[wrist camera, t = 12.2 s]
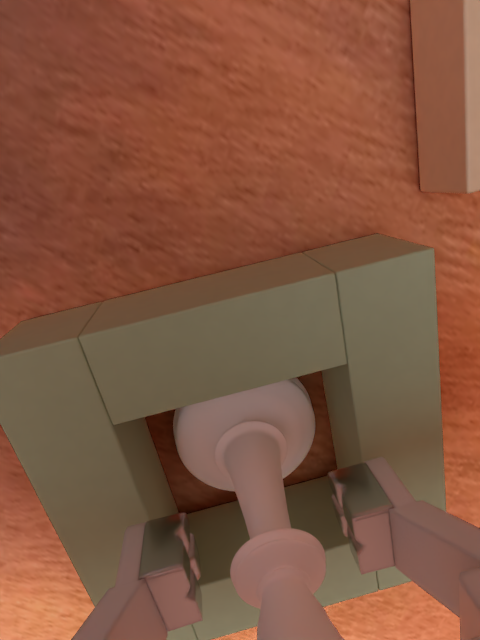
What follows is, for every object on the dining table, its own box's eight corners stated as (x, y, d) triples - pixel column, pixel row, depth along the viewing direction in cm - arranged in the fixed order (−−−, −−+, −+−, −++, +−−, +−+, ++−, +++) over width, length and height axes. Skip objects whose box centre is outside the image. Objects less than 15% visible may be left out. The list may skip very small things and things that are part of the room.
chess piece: (284, 489, 15) (444, 990, 6) (157, 466, 14) (97, 1038, 5) (332, 377, 14) (646, 795, 4) (196, 343, 13) (224, 796, 3)
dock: (135, 579, 16) (124, 665, 13) (20, 321, 12) (-32, 364, 9) (403, 503, 16) (449, 571, 13) (378, 232, 12) (435, 247, 9)
